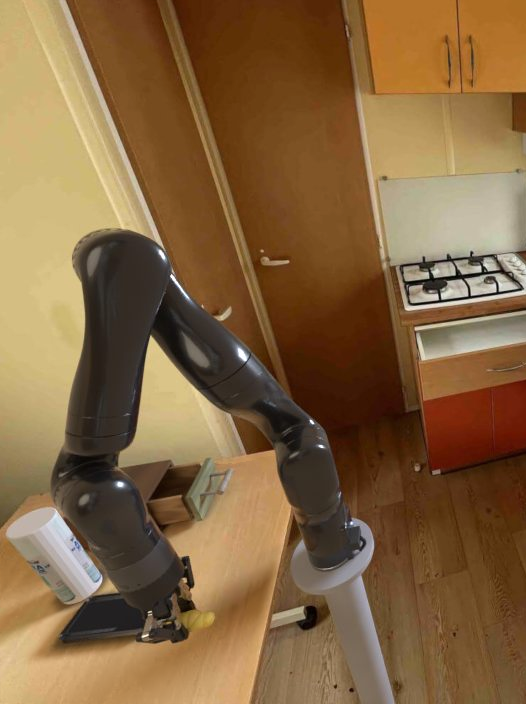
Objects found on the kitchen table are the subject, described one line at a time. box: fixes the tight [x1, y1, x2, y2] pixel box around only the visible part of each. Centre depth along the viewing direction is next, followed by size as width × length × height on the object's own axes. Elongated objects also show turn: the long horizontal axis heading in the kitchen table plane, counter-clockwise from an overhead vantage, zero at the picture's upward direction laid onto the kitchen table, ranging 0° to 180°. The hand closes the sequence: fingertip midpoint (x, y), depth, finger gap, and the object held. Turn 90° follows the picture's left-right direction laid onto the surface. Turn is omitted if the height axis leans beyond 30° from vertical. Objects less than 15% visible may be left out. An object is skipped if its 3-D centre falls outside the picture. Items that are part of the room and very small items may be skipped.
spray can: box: [5, 506, 103, 605], centre depth 80 cm, size 6×6×20 cm
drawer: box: [146, 457, 234, 526], centre depth 100 cm, size 18×12×8 cm
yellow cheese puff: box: [166, 609, 216, 633], centre depth 72 cm, size 9×3×3 cm, turn 106°
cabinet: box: [62, 459, 175, 550], centre depth 98 cm, size 15×14×10 cm
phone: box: [58, 592, 146, 644], centre depth 80 cm, size 8×1×15 cm
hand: (186, 626), depth 73 cm, fingers closed on yellow cheese puff, 3 cm apart
